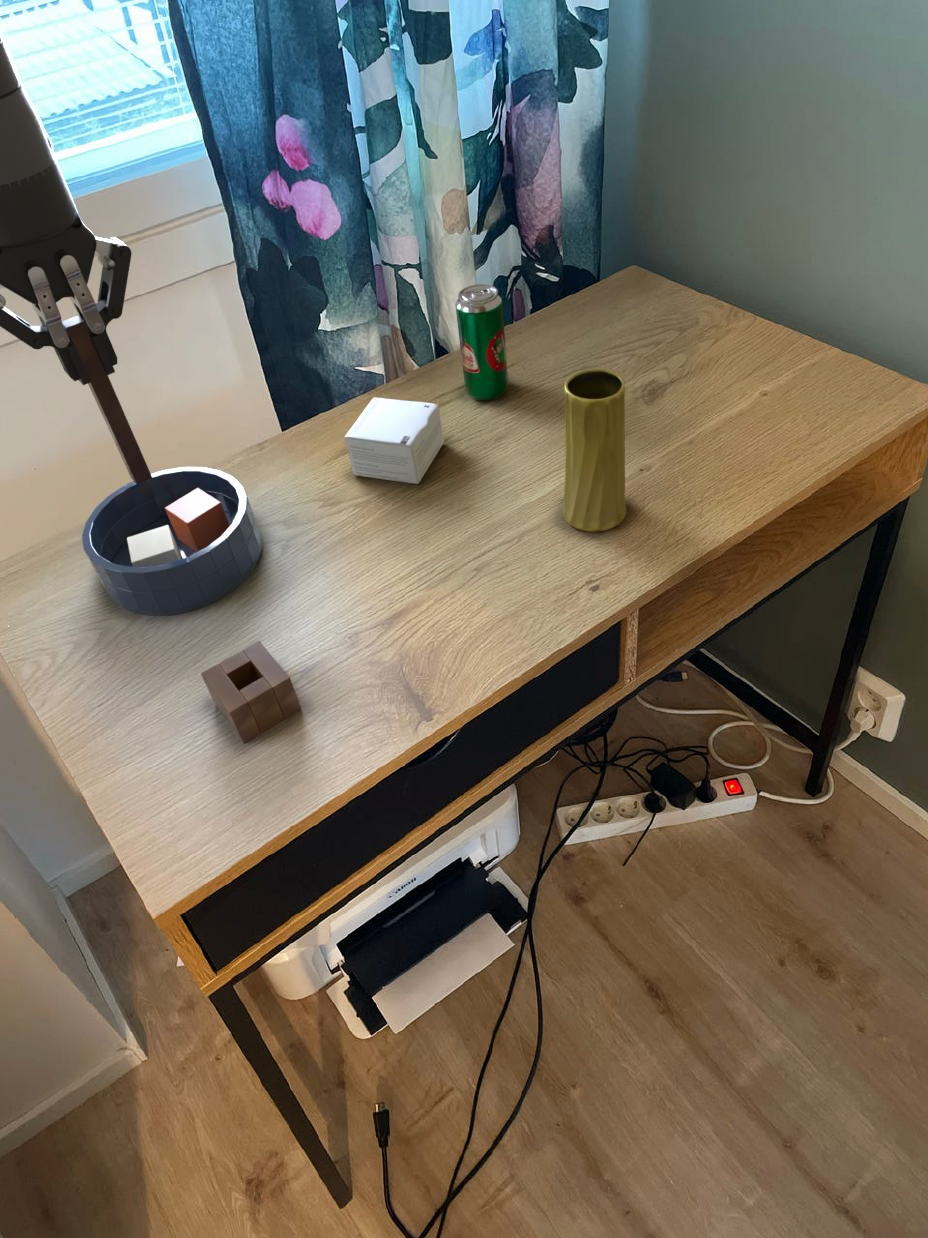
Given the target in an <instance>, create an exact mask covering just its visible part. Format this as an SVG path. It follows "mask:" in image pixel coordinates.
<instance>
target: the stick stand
mask: <svg viewBox="0 0 928 1238" xmlns="http://www.w3.org/2000/svg"><path fill="white" fill-rule="evenodd" d="M200 675H201V677H202V680H203V681H204V684H205V686H206V688H207V690H208V692H209V694H210V696H211V698H212V700H213V702H214V705H215V706H216V707H217V709H218V710H219V712H220V713H221V715H222V716H223V717H224V718H225V720H226V721H227V722H228V724H229V726H230V727H231V728H232V730H233V731H234V732H235V734H236V735H237V737H238V738H239V739H240V740H241V742H242V743H243V744H245V743H247V742H248V741H250V740H252V739H254V738H255V737H257V736H258V735H260V734H261V733H264V732H266V731H267V730H268V729H270V728H272V727H274V726H275V725H277V724H278V723H280V722H281V721H283V720H285V719H287V718H289V717H291V716H292V715H294V714H295V713H297V712H299V711H300V710H302V706H301V703H300V700H299V698H298V695H297V693H296V690H295V688H294V685H293V682H292V679H291V677H290V676H289V674H288V673H287V672H286V671H285V670H284V669H283V667H282V666H281V664H280V663H278V661H277V659H275V658H274V656H273V655H272V654H271V653H270V652H269V651H268V649H267V648H266V647H265V645H264V644H263V643H262V642H261V640H257V641H255V642H254V643H252V644H250V645H248V646H246V647H245V648H243V649H242V650H240V651H238V652H236V653H234V654H232V655H231V656H229V657H227V658H225V659H223V660H221V661H219V662H218V663H216V664H214V665H213V666H211V667H210V668H207V669H206V670H204V671H202V672H201V673H200Z"/></svg>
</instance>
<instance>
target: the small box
mask: <svg viewBox="0 0 928 1238" xmlns="http://www.w3.org/2000/svg"><path fill="white" fill-rule="evenodd" d="M344 440H345V445H346V448H347V449H346V450H347V454H348V458H349V460H350V465H351V470H352V474H353V475H354V476H357V477H363V478H370V479H378V480H385V481H393V482H399V483H406V484H412V485H413V484H414V485H415V484H416V485H418V484H420V482H421V481H422V479H423V478H424V475H425V474H426V472H427V471H428V469H429V468H430V467H431V464H432V463H433V461H434V459H435V458H436V457H437V455H438V453H439V451H440V449H441V448H442V447H443V444H444V443H445V439H444V432H443V425H442V419H441V412H440V405H439V404H438V403H431V402H424V401H415V400H403V399H392V398H383V397H377V396H376V397H375V396H374V397H373V398H372V399H371V400H370V402H368V404H367V405H366V407H365V408H364V410H363V411H362V412H361V413H360V415H359V416H358V417H357V419H356V420H355V422H354V424H352V426H351V427H350V428H349V430H348V431H347V433H346V434H345V435H344Z"/></svg>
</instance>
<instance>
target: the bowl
mask: <svg viewBox="0 0 928 1238" xmlns="http://www.w3.org/2000/svg"><path fill="white" fill-rule="evenodd" d="M151 475H152V478H151V479H149V480H146V481H144V482H142V483H140V484H138V485H137V484H136V483H135V482H134V481H133V480H132V481H130V482H128V483H126V484H124V485H123V486H121V487H119V488H117V489H116V490H115V491H114V492H112V493H110V494H109V495H108V496H107V497H105V498H104V499H103V500H102V501H101V502H100V503H99V504H98V505H97V506H95V508H94V509H93V511H92V512H91V514H90V515H89V517H88V518H87V519H86V521H85V523H84V527H83V531H82V534H81V541H82V547H83V548H82V549H83V551H84V553H85V554H86V557H87V558H88V560H89V562H90V563H91V565H92V567H93V569H94V571H95V573H96V574H97V577H98V579H99V580H100V582H101V584H102V586H103V587H104V589H105V591H106V592H107V594H108V596H109V597H110V598H111V600H112V601H113V602H114V603H115V604H116V605H118V606H119V607H121V608H122V609H125V610H126V611H128V612H133V613H135V614H139V615H145V616H171V615H178V614H183V613H187V612H188V613H189V612H192V611H195V610H198V609H200V608H203V607H205V606H208V605H210V604H212V603H214V602H216V601H219V600H220V599H222V598H224V597H225V596H227V595H229V594H230V593H231V592H232V591H234V590H235V589H236V588H238V587H239V586H240V585H241V584H242V583H244V581H245V580H246V579H247V578H248V577H249V576H250V575H251V573H252V571H253V570H254V569H255V567H256V566H257V563H258V562H259V559H260V556H261V553H262V544H263V543H262V537H261V533H260V530H259V527H258V525H257V522H256V518H255V516H254V513H253V509H252V507H251V503H250V501H249V499H248V496H247V492H246V490H245V487H244V485H243V484H242V483H240V481H239V480H238V479H237V478H235V477H234V476H233V475H232V474H230V473H227V472H225V471H223V470H220V469H216V468H211V467H206V466H180V467H174V468H168V469H167V468H166V469H163V470H158V471H156V472H152V473H151ZM196 488H199V489H201V490H202V491H204V492H205V493H207V494H209V495H210V496H212V497H213V498H215V499H216V500H218V501H219V502H221V504H222V507H223V510H224V512H225V515H226V518H227V520H228V523H229V528H228V529H227V530H226V531H225V532H224V533H223V534H222V535H221V537H219V538H218V539H217V540H215V541H214V542H213V543H211V544H210V545H209V546H207V547H206V548H204V549H202V550H200V551H198V552H196V551H194V550H193V549H192V548H190V547H189V546H187V545H186V544H185V543H183V542H182V541H180V540H179V539H178V538H177V536H176V533H175V531H174V529H173V526H172V524H171V522H170V519H169V517H168V515H167V513H166V510H165V507H167V506H169V505H170V504H172V503H173V502H175V501H177V500H178V499H180V498H182V497H183V496H185V495H187V494H188V493H190V492H191V491H193V490H195V489H196ZM166 525H169V527H170V530H171V532H172V534H173V537H174V539H175V541H176V543H177V546H178V548H179V550H180V553H181V555H182V558H183V559H180V560H177V561H174V562H171V563H167V564H162V565H156V566H149V567H133V565H132V562H131V557H130V552H129V547H128V542H127V537H130V536H134V535H137V534H140V533H143V532H146V531H150V530H153V529H156V528H159V527H162V526H166Z"/></svg>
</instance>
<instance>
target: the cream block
mask: <svg viewBox="0 0 928 1238" xmlns="http://www.w3.org/2000/svg"><path fill="white" fill-rule="evenodd" d="M127 542H128V547H129V552H130V557H131V562H132V565H133V567H149V566H156V565H162V564H167V563H171V562H174V561H177V560H180V559H183V558H182V555H181V553H180V550H179V548H178V546H177V543H176V541H175V539H174V537H173V534H172V532H171V530H170V527H169V525H166V526H162V527H159V528H156V529H153V530H150V531H146V532H143V533H140V534H137V535H134V536H130V537H127Z"/></svg>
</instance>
